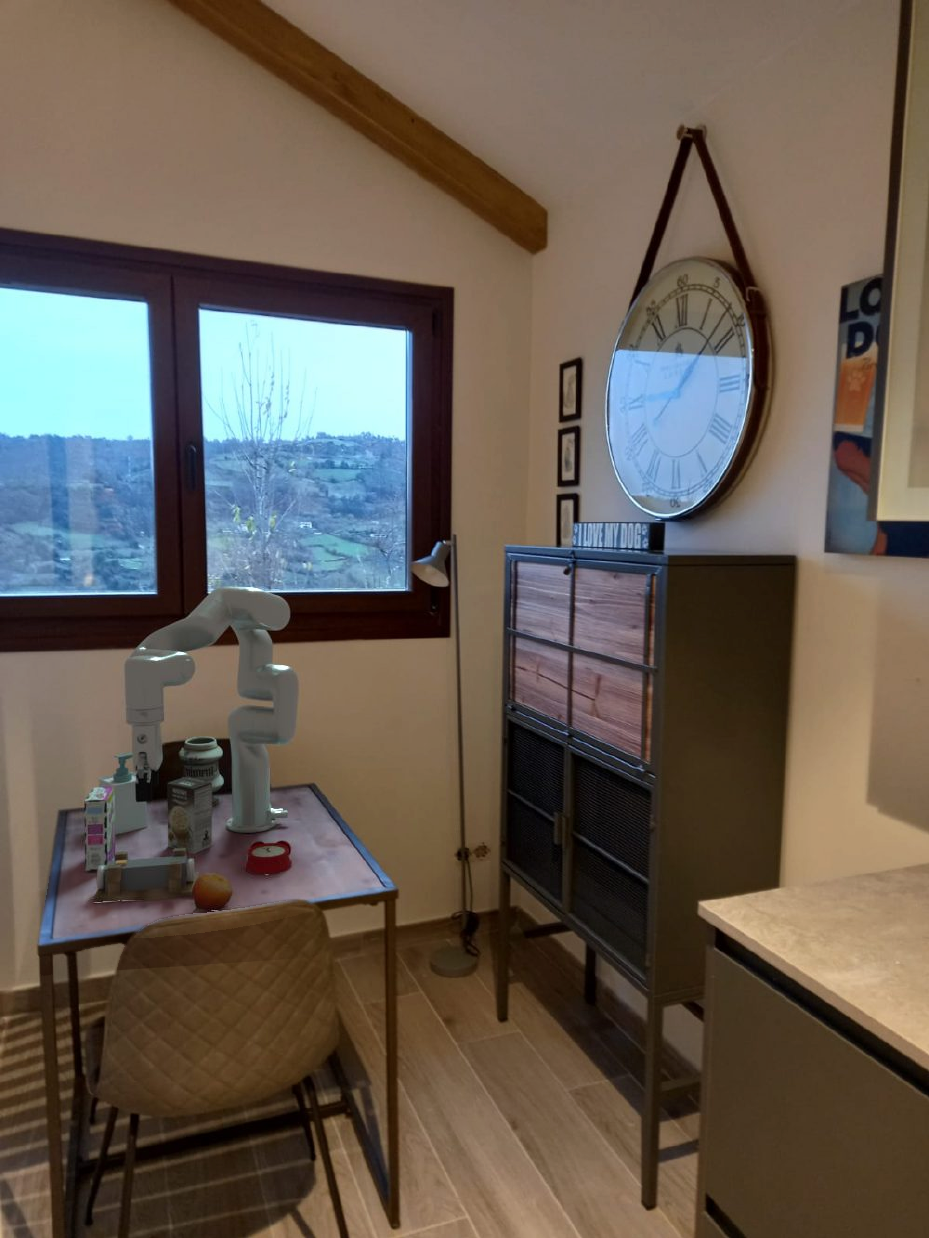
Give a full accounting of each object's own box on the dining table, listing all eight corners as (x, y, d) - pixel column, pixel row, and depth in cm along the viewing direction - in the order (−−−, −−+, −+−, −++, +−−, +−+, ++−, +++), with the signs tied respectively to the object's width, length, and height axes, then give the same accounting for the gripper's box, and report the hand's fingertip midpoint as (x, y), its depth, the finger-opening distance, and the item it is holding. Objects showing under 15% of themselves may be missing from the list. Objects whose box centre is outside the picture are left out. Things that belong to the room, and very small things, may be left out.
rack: (199, 877, 189) (199, 846, 188) (195, 896, 179) (194, 863, 179) (103, 884, 185) (102, 851, 184) (93, 903, 175) (92, 869, 174)
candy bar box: (108, 871, 192) (106, 800, 190) (84, 872, 191) (82, 801, 189) (117, 852, 203) (115, 785, 201) (94, 854, 202) (92, 786, 200)
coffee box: (166, 847, 207) (165, 782, 205) (186, 839, 213) (185, 776, 211) (194, 854, 203) (193, 788, 201) (213, 845, 208) (213, 781, 207)
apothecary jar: (181, 811, 233) (180, 746, 232) (176, 798, 244) (175, 736, 243) (227, 806, 238) (226, 742, 237) (220, 793, 249) (219, 733, 248)
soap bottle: (148, 827, 221) (146, 754, 219) (114, 835, 214) (112, 760, 212) (132, 819, 227) (131, 748, 225) (99, 826, 220) (97, 754, 218)
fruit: (187, 893, 178) (207, 861, 177) (221, 911, 179) (241, 879, 178) (178, 910, 170) (198, 876, 169) (213, 929, 171) (234, 895, 170)
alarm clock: (242, 863, 189) (248, 825, 203) (243, 887, 191) (249, 848, 205) (290, 861, 191) (293, 824, 205) (290, 885, 193) (293, 846, 207)
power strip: (194, 876, 187) (193, 851, 186) (193, 885, 182) (192, 860, 181) (100, 884, 182) (100, 858, 181) (97, 893, 177) (96, 867, 177)
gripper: (158, 723, 172) (160, 806, 174) (168, 705, 189) (170, 780, 191) (118, 725, 170) (121, 808, 172) (132, 706, 187) (135, 782, 189)
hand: (147, 793), depth 182 cm, fingers open, 9 cm apart
